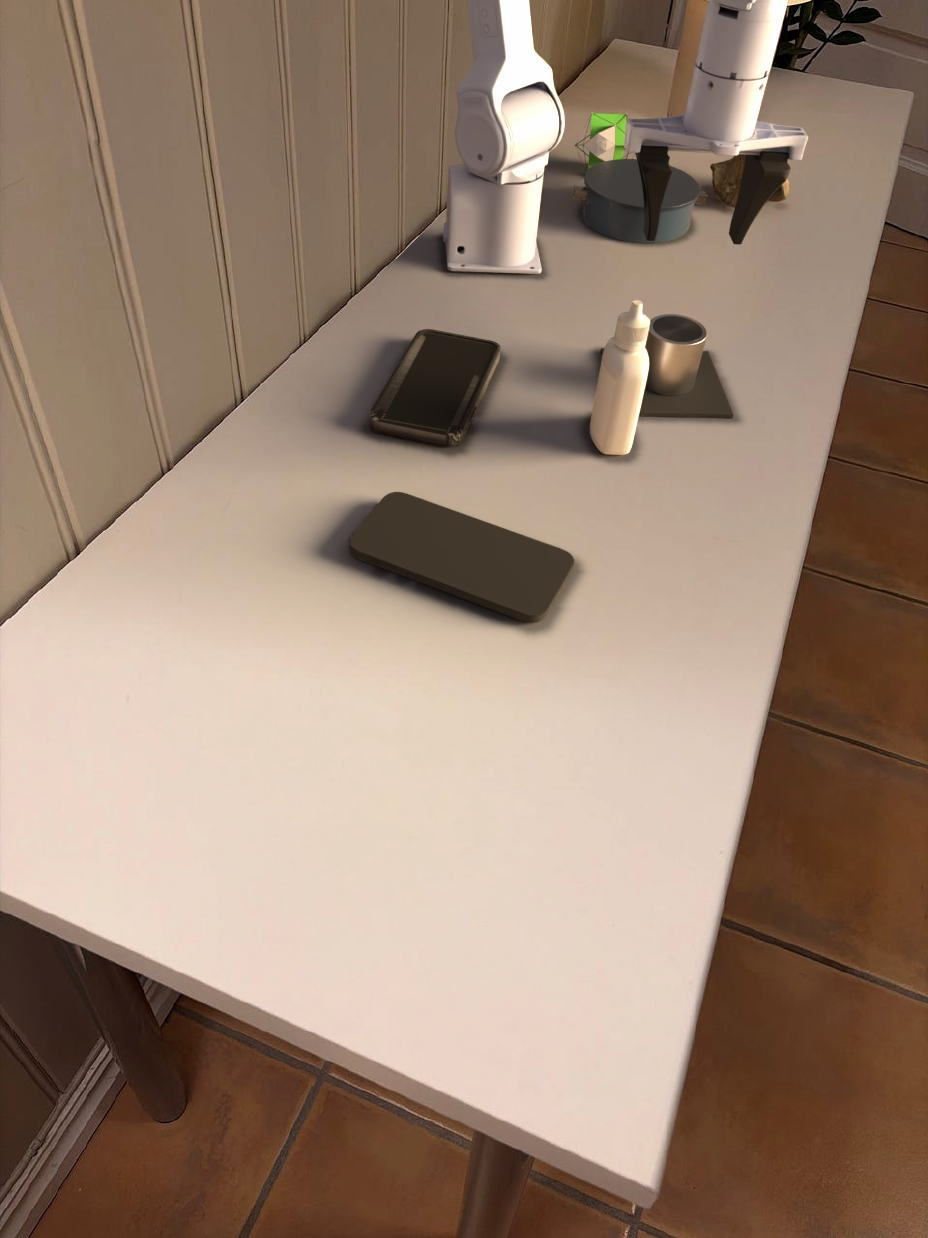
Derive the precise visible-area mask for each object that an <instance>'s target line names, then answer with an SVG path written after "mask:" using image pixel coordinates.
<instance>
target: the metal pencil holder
mask: <svg viewBox="0 0 928 1238" xmlns="http://www.w3.org/2000/svg"><path fill="white" fill-rule="evenodd" d="M649 320H650V326H649V331H648V335H647V340H646V344H645V348H646V350H647V353H648V357H649V370H648V375H647V380H646V385H645V388H646V389H647V390H649V391H651V392H654V393H656V394H660V395H666V396H678V395H683V394H686V393H688V392H689V391H690V390H691V389H692V388H693V386H694V383H695V379H696V375H697V371H698V368H699V364H700V360H701V356H702V353H703V351H704V349H705V345H706V340H707V337H708V331H707V328H706V327H705V325H703V324H702V323H701V322H700V321H698V320H696V319H694V318H692V317H689V316H686V315H683V314H675V313H666V314H660V315H656V316H654V317H653V318H651V319H649Z"/></svg>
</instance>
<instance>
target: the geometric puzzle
mask: <svg viewBox="0 0 928 1238" xmlns="http://www.w3.org/2000/svg"><path fill="white" fill-rule="evenodd" d="M628 118H629V117H628V113H612V112H611V113H607V112H602V113H601V112H591V113H590V115H589V117H588V119H587V122H586V124H585V125H584V127H586V125H587V128H586V132H585V135H584V138H583V139H581V140H580V141H578V142H576V143H575V144H574V147H575V149H576V151H577V154H578V155H579V158H580V161H581V163H582V166H583V168H584V170H585V172H586V171H587V170H588V169H589V168H590V167H592V166H594V165H596V164H598V163H601V162H605V161H609V160H617V159H628V156H629V154H632V152H627V154H625V152H624V151H625V150H626V148H625V144H624V139H625V133H626V127H627V119H628ZM587 123H588V124H587ZM589 125H590V132H589V134H588V135H587V133H588V129H589ZM588 137H589V139H588V140H586V139H587V138H588ZM585 140H586V142H585ZM582 141H583V142H582ZM581 142H582V144H581V146H582V149H583V150H582V149H581V148H580V147H579V144H580V143H581ZM585 148H586V149H587V151H588V154H587V153H586V152H585ZM578 150H580V151H581V152H582V153H583V156H584V157H586V156H587V157H588V164H587V162H586V161H587V160H586V159H584V162H585V164H587V165H588V166H584V164H583V161H582V159H581V156H580V154H579V151H578ZM624 154H625V155H624ZM635 156H636V154H635V153H633V156H632V158H634V157H635Z"/></svg>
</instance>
